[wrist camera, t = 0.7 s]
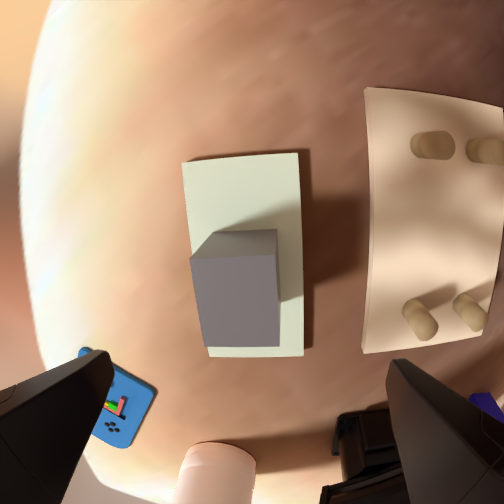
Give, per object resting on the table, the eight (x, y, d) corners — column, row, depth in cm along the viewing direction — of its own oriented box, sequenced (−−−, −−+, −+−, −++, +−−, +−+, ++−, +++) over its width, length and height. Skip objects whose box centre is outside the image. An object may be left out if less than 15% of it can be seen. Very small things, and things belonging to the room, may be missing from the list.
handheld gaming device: (68, 421, 28) (77, 348, 24) (72, 416, 29) (83, 342, 25) (124, 455, 29) (154, 394, 24) (127, 448, 30) (158, 387, 25)
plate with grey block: (296, 153, 18) (303, 151, 12) (302, 346, 22) (306, 403, 16) (187, 162, 19) (147, 166, 13) (212, 347, 23) (193, 402, 17)
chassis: (475, 329, 20) (498, 354, 16) (361, 346, 21) (372, 379, 18) (494, 108, 15) (527, 105, 11) (363, 90, 16) (382, 75, 12)
